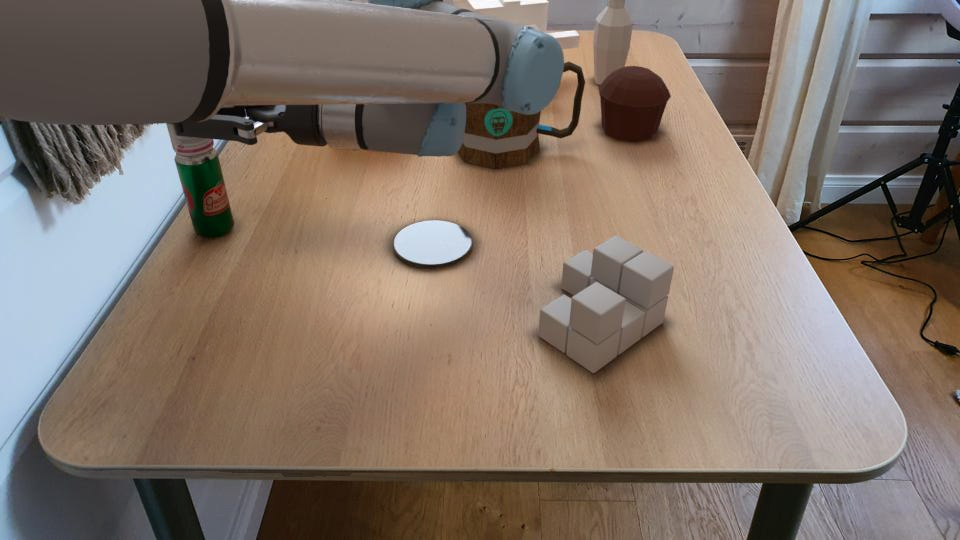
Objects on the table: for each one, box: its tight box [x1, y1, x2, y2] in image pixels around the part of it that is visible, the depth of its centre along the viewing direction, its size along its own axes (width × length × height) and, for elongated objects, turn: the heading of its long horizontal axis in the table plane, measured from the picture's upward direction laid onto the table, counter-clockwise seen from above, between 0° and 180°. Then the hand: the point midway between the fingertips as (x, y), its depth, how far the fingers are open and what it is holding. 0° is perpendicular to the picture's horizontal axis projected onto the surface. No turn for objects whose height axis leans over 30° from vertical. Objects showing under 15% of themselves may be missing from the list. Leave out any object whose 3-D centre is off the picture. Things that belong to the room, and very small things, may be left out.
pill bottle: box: [165, 123, 215, 156], centre depth 87 cm, size 5×5×8 cm
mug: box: [457, 61, 586, 170], centre depth 111 cm, size 20×14×15 cm
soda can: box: [174, 146, 235, 240], centre depth 93 cm, size 5×5×12 cm
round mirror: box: [393, 219, 473, 269], centre depth 94 cm, size 10×10×1 cm
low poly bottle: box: [592, 0, 634, 86], centre depth 130 cm, size 6×6×22 cm
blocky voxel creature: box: [452, 0, 581, 50], centre depth 136 cm, size 15×25×28 cm
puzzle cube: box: [538, 235, 675, 374], centre depth 80 cm, size 12×12×8 cm
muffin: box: [597, 65, 672, 143], centre depth 118 cm, size 12×11×10 cm
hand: (140, 98), depth 87 cm, fingers closed on pill bottle, 5 cm apart
